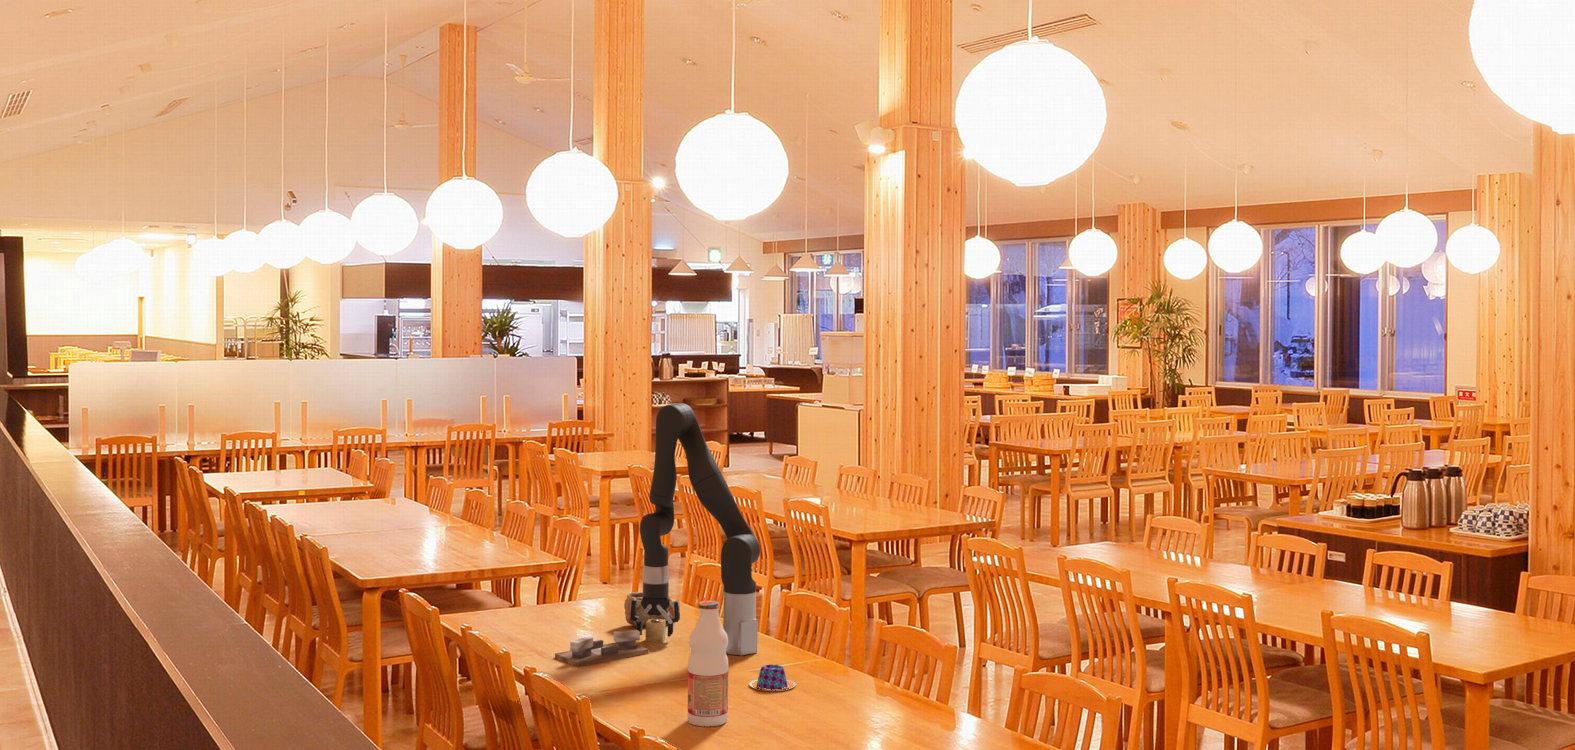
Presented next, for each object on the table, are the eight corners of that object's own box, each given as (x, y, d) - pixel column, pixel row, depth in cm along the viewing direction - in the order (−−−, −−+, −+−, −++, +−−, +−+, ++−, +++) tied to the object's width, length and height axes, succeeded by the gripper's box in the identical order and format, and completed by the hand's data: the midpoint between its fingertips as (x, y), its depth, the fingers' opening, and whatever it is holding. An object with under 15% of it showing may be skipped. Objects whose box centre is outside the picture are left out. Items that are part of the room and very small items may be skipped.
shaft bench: (648, 653, 358) (648, 632, 358) (578, 666, 343) (578, 645, 343) (624, 644, 367) (624, 624, 367) (554, 657, 352) (555, 636, 352)
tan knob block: (665, 639, 375) (665, 618, 374) (662, 643, 370) (662, 622, 369) (648, 639, 375) (648, 617, 375) (645, 643, 370) (645, 621, 370)
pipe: (679, 623, 395) (679, 591, 394) (635, 631, 384) (635, 598, 383) (662, 618, 401) (662, 587, 401) (618, 626, 391) (619, 593, 390)
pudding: (803, 685, 330) (804, 665, 330) (780, 696, 320) (781, 675, 320) (764, 678, 336) (764, 658, 336) (740, 689, 326) (740, 668, 326)
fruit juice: (706, 730, 291) (708, 608, 290) (679, 721, 298) (680, 602, 297) (736, 721, 298) (737, 602, 297) (708, 712, 305) (709, 596, 304)
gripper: (629, 582, 368) (628, 637, 369) (678, 583, 367) (677, 639, 368) (634, 577, 376) (633, 631, 376) (681, 578, 375) (680, 633, 375)
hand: (654, 635), depth 372 cm, fingers open, 8 cm apart
